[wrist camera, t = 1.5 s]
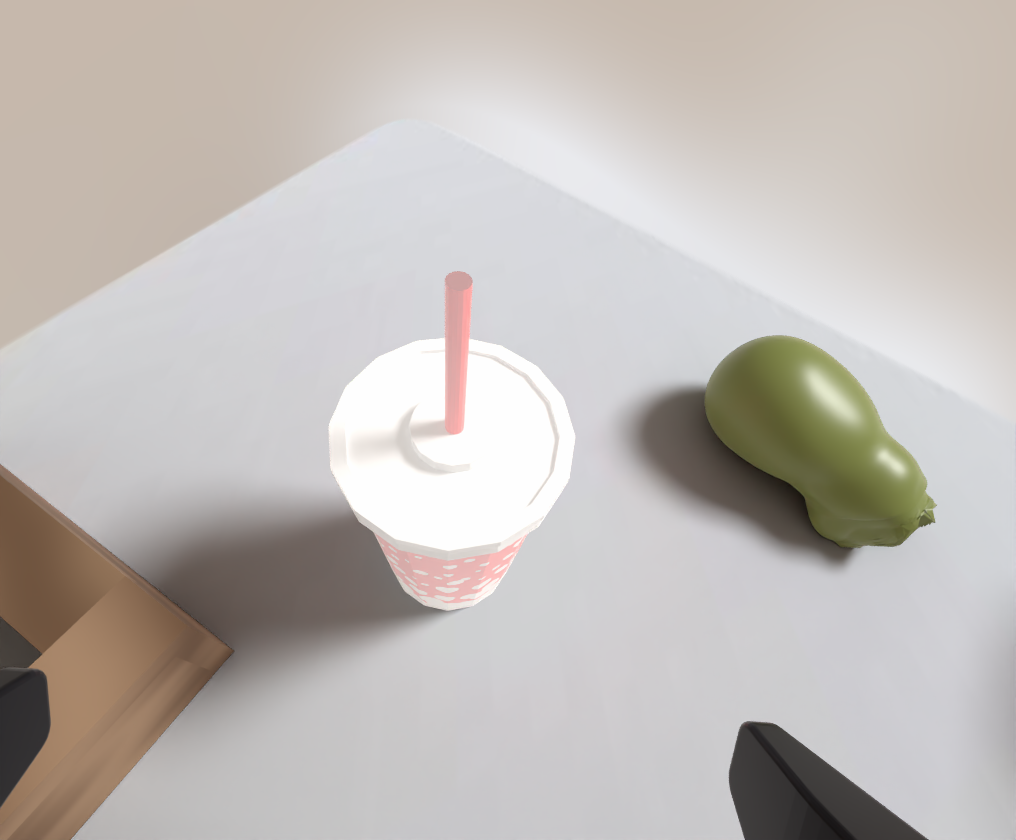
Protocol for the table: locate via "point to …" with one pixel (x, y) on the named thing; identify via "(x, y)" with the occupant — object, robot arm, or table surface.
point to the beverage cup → (451, 456)
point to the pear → (818, 440)
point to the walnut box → (89, 662)
